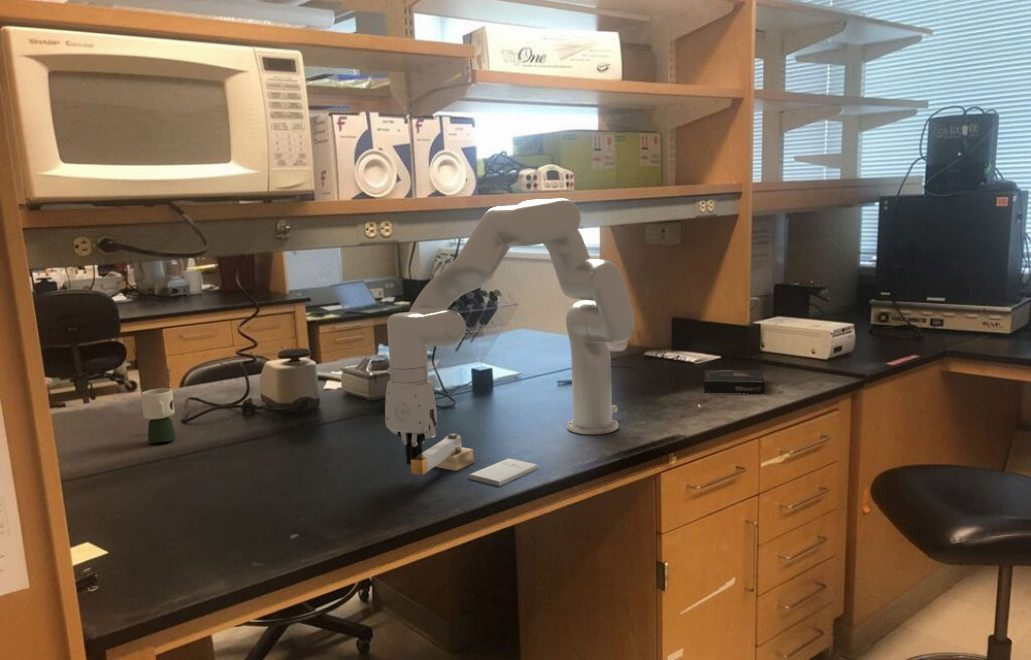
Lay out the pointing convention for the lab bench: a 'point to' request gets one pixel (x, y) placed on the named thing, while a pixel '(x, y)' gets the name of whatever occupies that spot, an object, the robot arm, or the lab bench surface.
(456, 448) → the latch arm
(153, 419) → the character mug
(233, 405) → the lab bench surface
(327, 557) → the lab bench surface
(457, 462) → the block
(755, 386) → the portable cd player
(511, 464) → the external hard drive
